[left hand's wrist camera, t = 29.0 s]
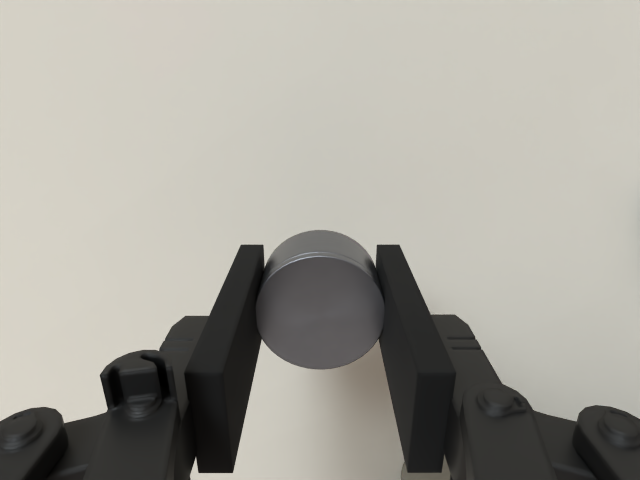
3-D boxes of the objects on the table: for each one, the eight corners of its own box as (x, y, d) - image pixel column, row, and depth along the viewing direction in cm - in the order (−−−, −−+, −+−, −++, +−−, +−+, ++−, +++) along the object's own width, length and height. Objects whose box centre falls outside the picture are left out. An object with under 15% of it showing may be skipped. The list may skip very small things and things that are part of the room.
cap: (369, 334, 16) (376, 373, 14) (261, 326, 15) (252, 365, 13) (384, 233, 14) (395, 261, 12) (264, 225, 14) (256, 251, 12)
